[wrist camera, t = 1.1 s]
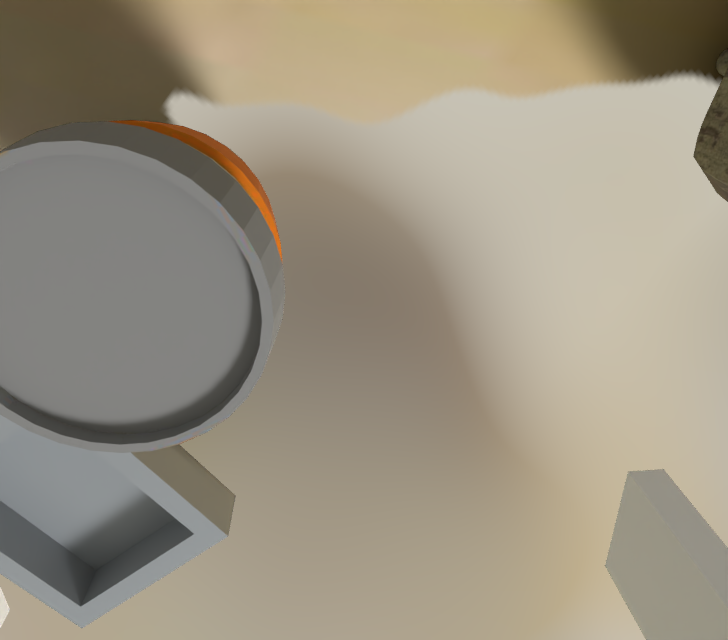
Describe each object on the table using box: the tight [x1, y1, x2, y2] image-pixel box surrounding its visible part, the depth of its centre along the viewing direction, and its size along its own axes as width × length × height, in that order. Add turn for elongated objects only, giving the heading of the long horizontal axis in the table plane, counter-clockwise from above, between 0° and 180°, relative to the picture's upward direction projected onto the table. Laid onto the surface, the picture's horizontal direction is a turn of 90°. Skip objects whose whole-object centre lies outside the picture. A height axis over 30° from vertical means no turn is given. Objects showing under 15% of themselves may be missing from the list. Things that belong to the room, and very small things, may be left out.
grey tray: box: [0, 415, 235, 628], centre depth 40 cm, size 16×14×4 cm
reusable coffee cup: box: [0, 120, 285, 453], centre depth 27 cm, size 13×13×15 cm
